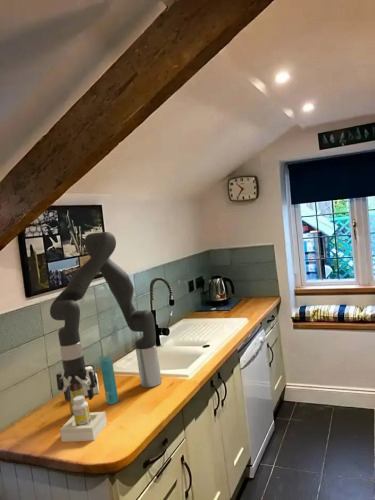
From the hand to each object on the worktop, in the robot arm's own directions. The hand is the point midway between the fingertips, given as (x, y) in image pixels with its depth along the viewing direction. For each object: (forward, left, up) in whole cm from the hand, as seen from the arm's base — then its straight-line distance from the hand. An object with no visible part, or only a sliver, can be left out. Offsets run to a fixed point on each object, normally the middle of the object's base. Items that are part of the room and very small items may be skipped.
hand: (79, 399), depth 155 cm
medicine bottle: (-37, -14, -12) cm, 41 cm away
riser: (0, 0, -12) cm, 12 cm away
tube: (-25, +1, -12) cm, 28 cm away
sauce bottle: (-16, -10, -12) cm, 22 cm away
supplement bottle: (0, 0, -9) cm, 9 cm away
